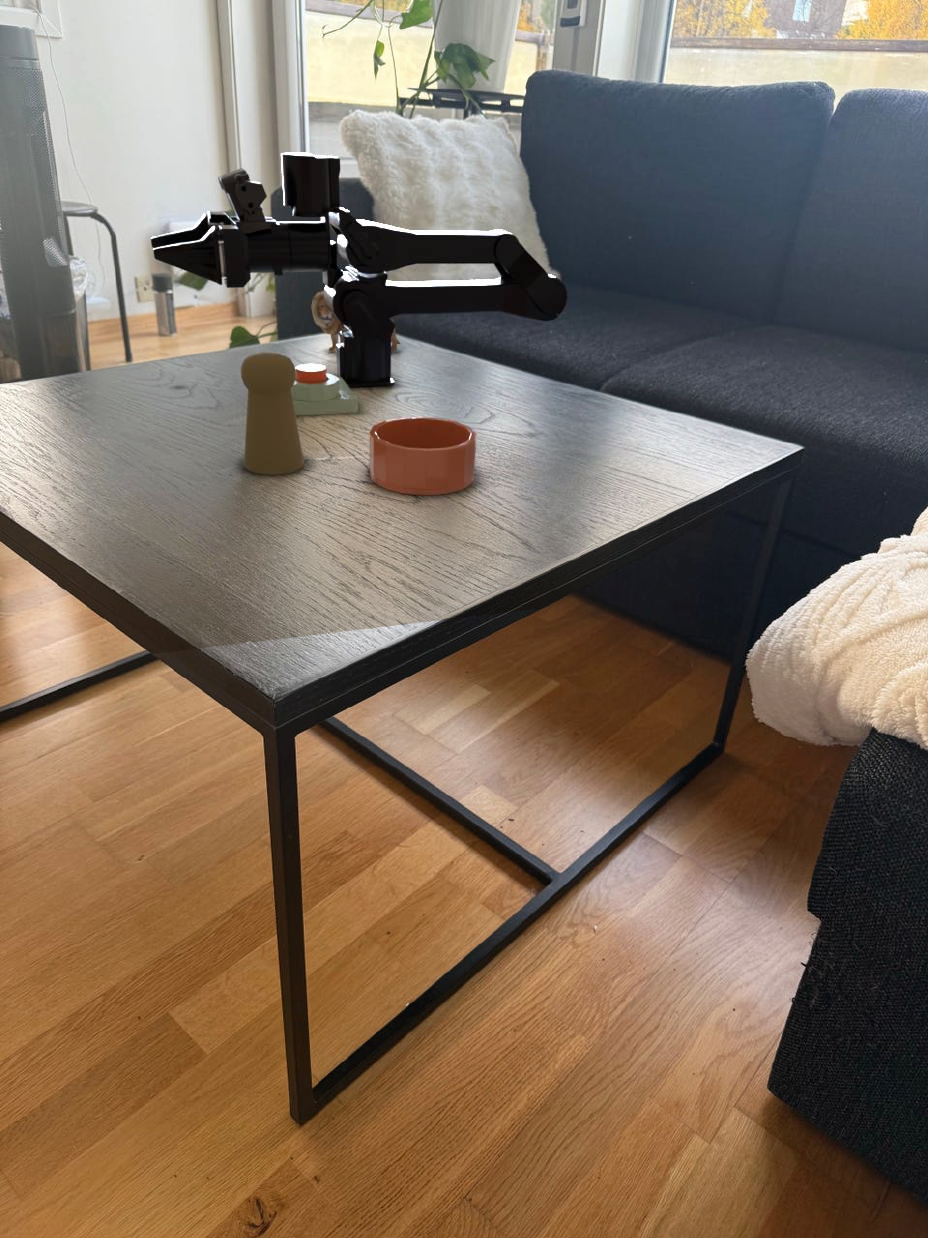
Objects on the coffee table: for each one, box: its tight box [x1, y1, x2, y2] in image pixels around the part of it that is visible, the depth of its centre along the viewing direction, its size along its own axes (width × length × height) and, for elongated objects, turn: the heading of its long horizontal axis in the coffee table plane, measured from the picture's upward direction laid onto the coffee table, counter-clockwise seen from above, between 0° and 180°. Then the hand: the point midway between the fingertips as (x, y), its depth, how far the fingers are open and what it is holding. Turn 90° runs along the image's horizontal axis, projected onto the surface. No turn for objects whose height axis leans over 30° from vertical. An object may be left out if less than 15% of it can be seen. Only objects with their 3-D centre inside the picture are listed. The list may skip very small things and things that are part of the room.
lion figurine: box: [310, 290, 401, 353], centre depth 132 cm, size 15×5×9 cm, turn 126°
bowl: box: [368, 416, 477, 496], centre depth 88 cm, size 10×10×4 cm
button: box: [295, 363, 327, 384], centre depth 106 cm, size 4×4×2 cm
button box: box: [291, 372, 359, 416], centre depth 109 cm, size 10×10×4 cm
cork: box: [240, 352, 305, 476], centre depth 88 cm, size 6×6×11 cm
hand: (152, 247), depth 104 cm, fingers open, 9 cm apart
